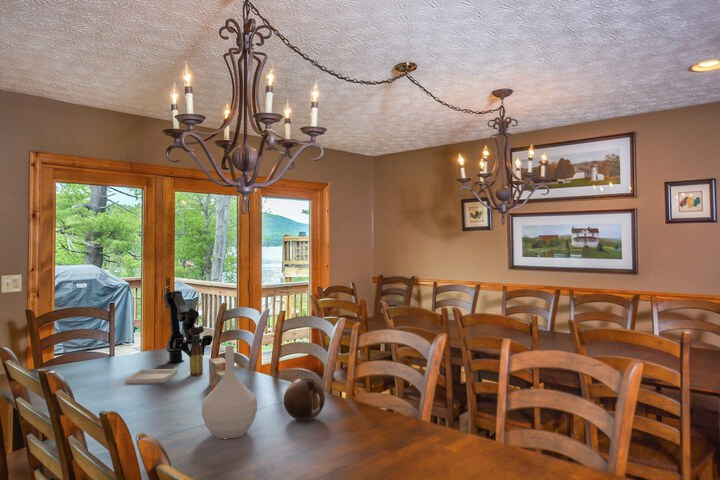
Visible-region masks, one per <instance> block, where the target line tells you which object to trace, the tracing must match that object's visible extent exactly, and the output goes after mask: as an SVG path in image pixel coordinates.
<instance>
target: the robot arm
mask: <svg viewBox="0 0 720 480" xmlns="http://www.w3.org/2000/svg"><path fill="white" fill-rule="evenodd" d="M163 299H164V302H165V303H164V304H165V305H166V306H167V307H168V312H169V313H168V315H169V322H170V335H169V336H168V342H167V343H166V347H165V348H166V349H165V351H166V352H168V353H169V354H168V359H169V360H166V363H167V364H168V363H169V364H178V363H182V362H185V360H184V359H183V353H185V354H186V355H187V356H188V357H189V358H190V357H191V353H190V348H189V345H192V338H191V336H192V335H196V334H199V335H201V334H202V333H204V331H205V328H204V326H203V325H199V326H195V325H197V322H198V318H199V316H200V313H199V312H198V311H197V310H195V309H194V308H193V307H192V308H191V307H189V306H188V305H187V304H186V301H185V299H184V297H183V292H182V291H181V290H173V291H166V292H165V293H164V294H163ZM180 323H182V324H181V326H182V330H183V333H184V334H183V333H182V332H181V330H180V329H181V328H180ZM213 339H214V338H213V335H211V334H209V335H208V334H207V335H203V337H202V338H200V345H201V347H202V353H203V356H204V355H205V348H206V347H207V346H211V345H212V342H213Z"/></svg>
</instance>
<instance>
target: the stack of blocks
mask: <svg viewBox="0 0 720 480" xmlns="http://www.w3.org/2000/svg"><path fill="white" fill-rule="evenodd" d="M208 364H209V366H208V367H209V369H208V373H209V374H208V375H209V376H208V377H209V379H208V380H209V382H208V383H209V386H210V388H211V389H212V390H213V389H214V388H215V387H216V386H217V384H218V383H219V382H220V381H221V379H222V378H223V376H224V374H225V358H224V357H215V358H209V359H208Z"/></svg>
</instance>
